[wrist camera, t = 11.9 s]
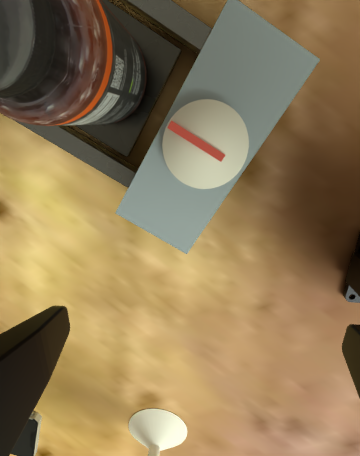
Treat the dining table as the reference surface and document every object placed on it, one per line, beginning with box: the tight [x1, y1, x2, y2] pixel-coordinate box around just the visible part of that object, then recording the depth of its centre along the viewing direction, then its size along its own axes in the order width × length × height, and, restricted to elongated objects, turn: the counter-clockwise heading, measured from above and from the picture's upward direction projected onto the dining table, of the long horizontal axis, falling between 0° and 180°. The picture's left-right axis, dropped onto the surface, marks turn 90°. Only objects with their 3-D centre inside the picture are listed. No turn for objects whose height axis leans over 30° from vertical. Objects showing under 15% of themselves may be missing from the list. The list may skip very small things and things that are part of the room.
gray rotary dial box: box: [116, 0, 320, 254], centre depth 16 cm, size 5×12×6 cm, turn 149°
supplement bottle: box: [0, 0, 146, 126], centre depth 12 cm, size 6×6×11 cm
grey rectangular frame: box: [13, 0, 212, 187], centre depth 17 cm, size 20×11×2 cm, turn 59°
